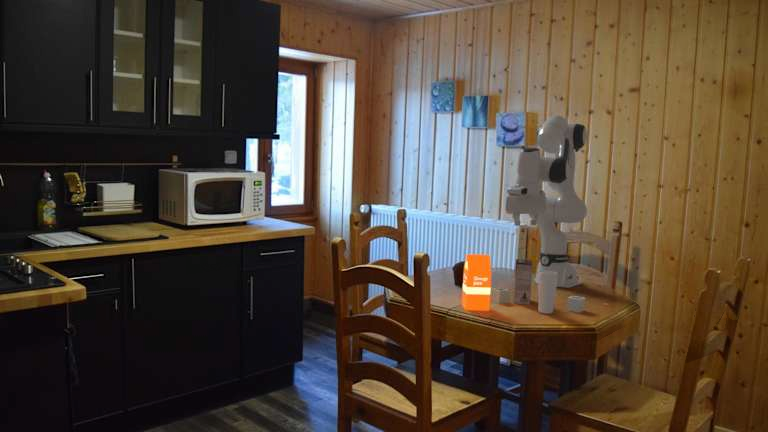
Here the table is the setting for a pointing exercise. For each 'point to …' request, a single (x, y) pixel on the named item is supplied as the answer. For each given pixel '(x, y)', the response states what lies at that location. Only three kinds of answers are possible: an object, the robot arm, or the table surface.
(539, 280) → the drinking glass
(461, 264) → the muffin
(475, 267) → the orange juice
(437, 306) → the table surface
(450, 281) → the table surface
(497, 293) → the digit block sage
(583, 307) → the digit block offwhite
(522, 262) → the coffee box
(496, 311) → the table surface
